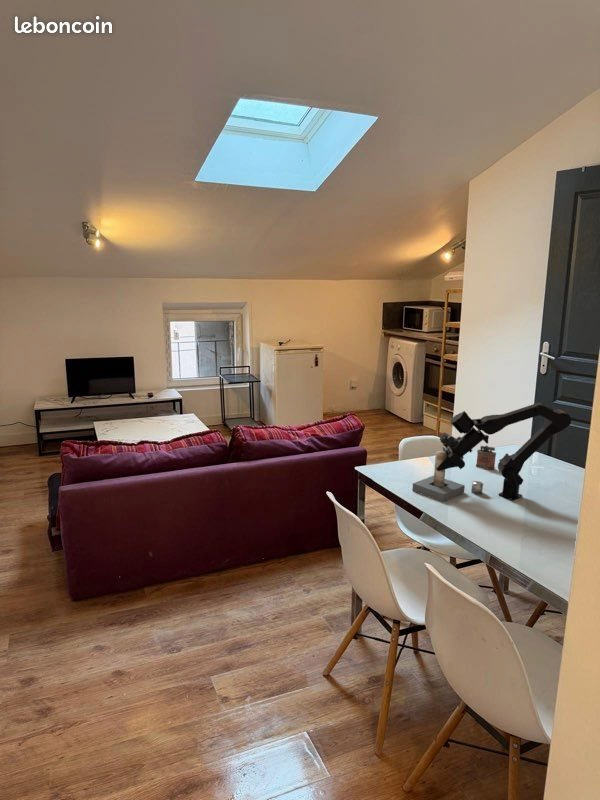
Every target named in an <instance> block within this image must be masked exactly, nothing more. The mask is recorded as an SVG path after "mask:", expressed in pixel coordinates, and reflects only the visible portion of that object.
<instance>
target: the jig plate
mask: <svg viewBox="0 0 600 800" xmlns="http://www.w3.org/2000/svg"><path fill="white" fill-rule="evenodd" d="M433 484H434V475H431V476H428V477H426V478H424V479H421V480H418V481H415V482H414V483H412V490H413V492H415V491H416V492H415V493H418V492H419V493H418V494H420V493H422V494H421V495H423V494H424V495H423V496H426V495H427V496H426V497H428V496H430V497H429V498H431V497H433V498H432V499H434V498H435V499H434V500H437V499H438V500H437V501H439V500H441V502H442V501H444V502H446V501H448V500H451V499H453V498H455V497H458V496H460V495H463V494H464V493H465V488H466V487H465V486H466V485H465V484H461V483H458V482H455V481H453V480H449V479H448V478H445V481H444V487H442V488H439V487H436V486H433ZM412 490H411V491H412Z"/></svg>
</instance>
